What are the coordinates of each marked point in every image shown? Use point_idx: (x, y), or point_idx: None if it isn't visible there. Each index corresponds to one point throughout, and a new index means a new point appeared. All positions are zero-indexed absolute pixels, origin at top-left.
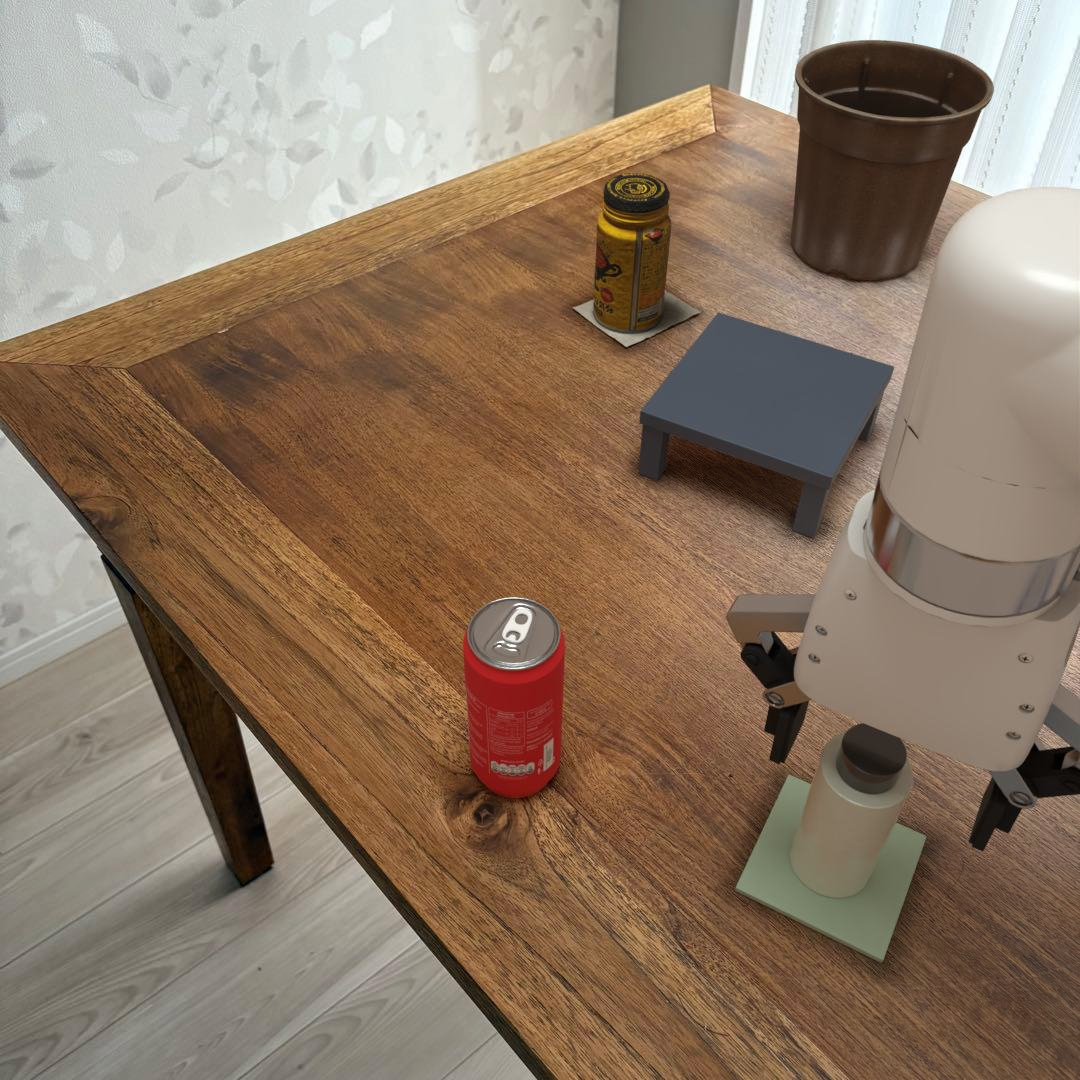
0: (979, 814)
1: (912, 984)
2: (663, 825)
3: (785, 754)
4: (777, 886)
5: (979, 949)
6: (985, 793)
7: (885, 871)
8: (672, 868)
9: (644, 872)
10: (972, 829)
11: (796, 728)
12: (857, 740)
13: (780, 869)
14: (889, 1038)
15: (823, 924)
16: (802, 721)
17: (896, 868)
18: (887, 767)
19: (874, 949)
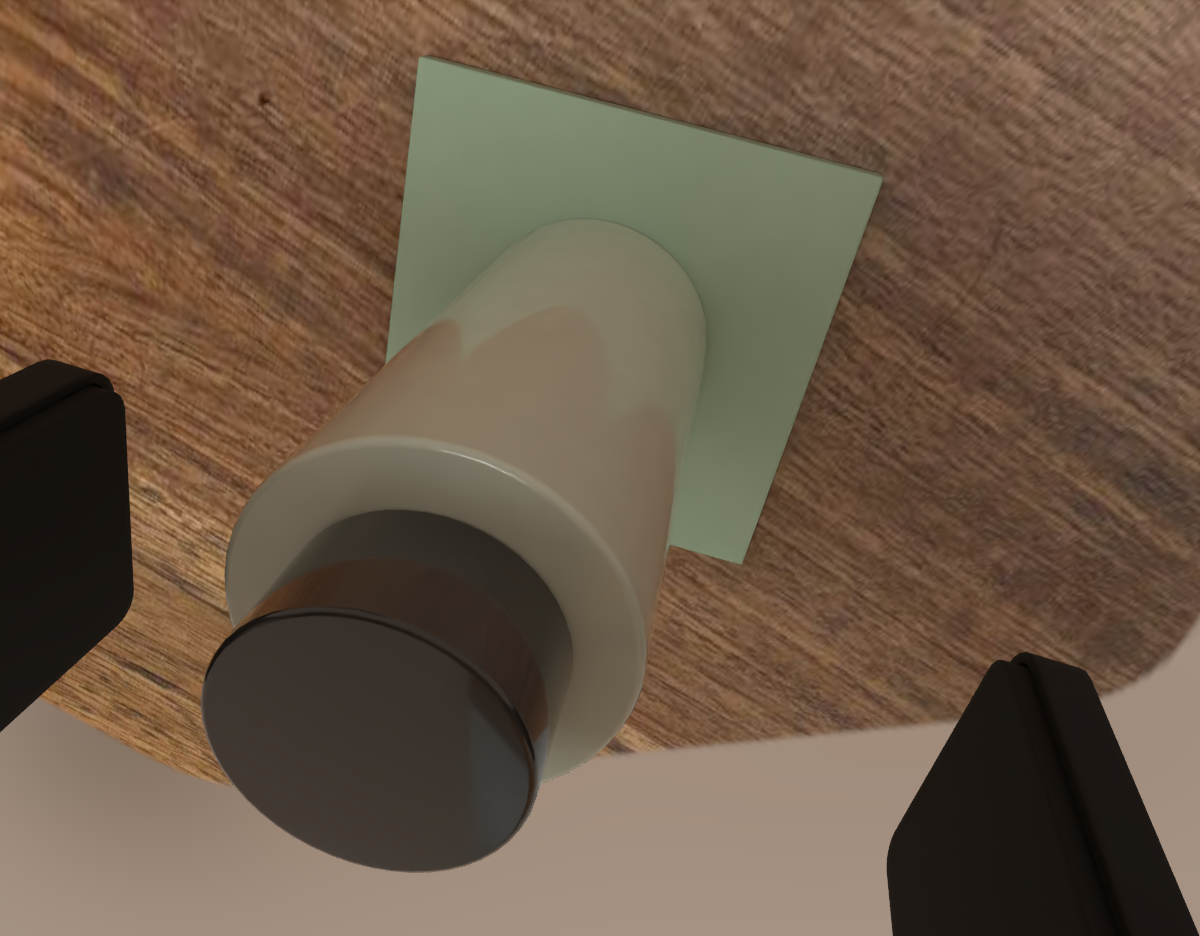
0: (933, 892)
1: (815, 584)
2: (165, 318)
3: (76, 661)
4: None
5: (1001, 478)
6: (994, 760)
7: (746, 333)
8: (232, 426)
9: (180, 448)
10: (914, 808)
11: (21, 608)
12: (272, 715)
13: None
14: (760, 689)
15: None
16: (85, 444)
17: (779, 318)
18: (446, 838)
19: (720, 543)
